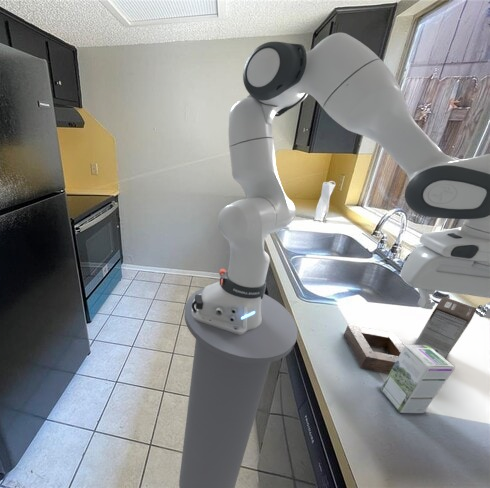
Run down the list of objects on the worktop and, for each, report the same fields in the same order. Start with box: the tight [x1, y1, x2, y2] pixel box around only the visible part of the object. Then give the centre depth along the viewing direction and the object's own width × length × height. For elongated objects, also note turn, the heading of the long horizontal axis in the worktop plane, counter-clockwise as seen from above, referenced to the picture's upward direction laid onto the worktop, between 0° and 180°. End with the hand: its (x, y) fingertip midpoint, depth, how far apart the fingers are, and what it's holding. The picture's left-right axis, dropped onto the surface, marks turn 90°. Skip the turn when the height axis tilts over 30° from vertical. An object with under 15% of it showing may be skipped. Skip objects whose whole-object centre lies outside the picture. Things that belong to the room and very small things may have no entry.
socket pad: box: [343, 324, 405, 375], centre depth 70 cm, size 12×12×4 cm
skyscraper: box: [313, 180, 336, 223], centre depth 177 cm, size 8×8×28 cm
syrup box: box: [380, 344, 456, 414], centre depth 56 cm, size 6×6×14 cm
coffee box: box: [413, 296, 477, 359], centre depth 69 cm, size 9×6×16 cm
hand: (452, 311), depth 50 cm, fingers open, 8 cm apart
